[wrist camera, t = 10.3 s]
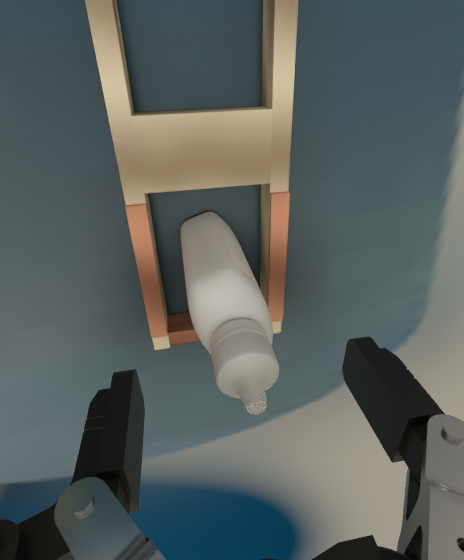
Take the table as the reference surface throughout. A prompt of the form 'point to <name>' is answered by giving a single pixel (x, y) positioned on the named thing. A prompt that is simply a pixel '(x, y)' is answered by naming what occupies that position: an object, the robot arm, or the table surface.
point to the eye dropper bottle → (228, 310)
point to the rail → (202, 156)
